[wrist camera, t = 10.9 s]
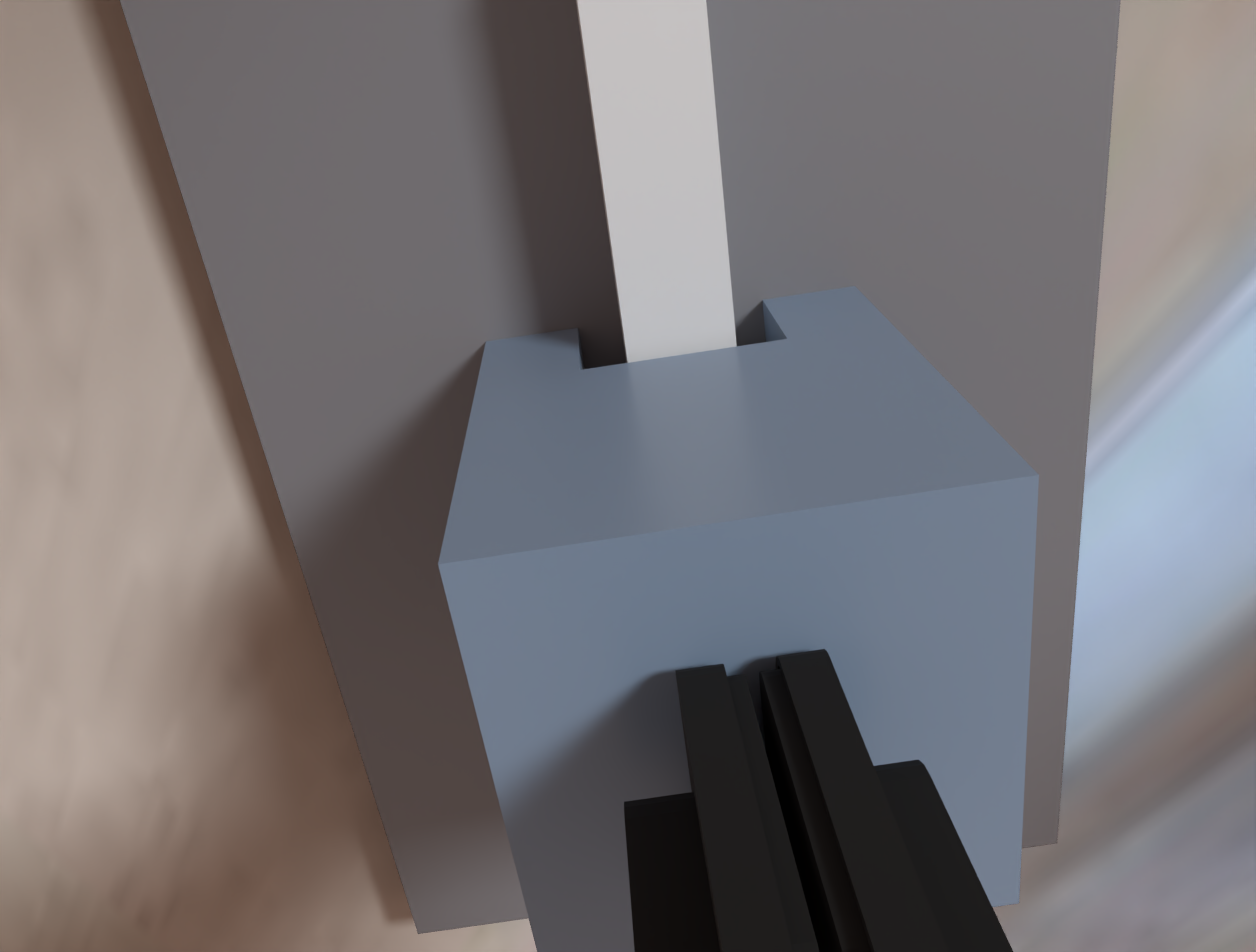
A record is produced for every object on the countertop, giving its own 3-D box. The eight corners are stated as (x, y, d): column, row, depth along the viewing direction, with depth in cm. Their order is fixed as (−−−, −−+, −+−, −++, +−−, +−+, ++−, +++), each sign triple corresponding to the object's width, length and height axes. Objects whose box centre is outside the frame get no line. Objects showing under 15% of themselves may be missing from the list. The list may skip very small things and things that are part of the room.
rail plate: (111, -116, 14) (14, -137, 12) (1104, -262, 14) (1222, -317, 12) (423, 896, 23) (406, 1009, 20) (1037, 809, 23) (1096, 911, 20)
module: (482, 341, 16) (433, 564, 10) (857, 285, 16) (1044, 473, 10) (546, 646, 19) (539, 973, 13) (869, 597, 19) (1023, 902, 13)
